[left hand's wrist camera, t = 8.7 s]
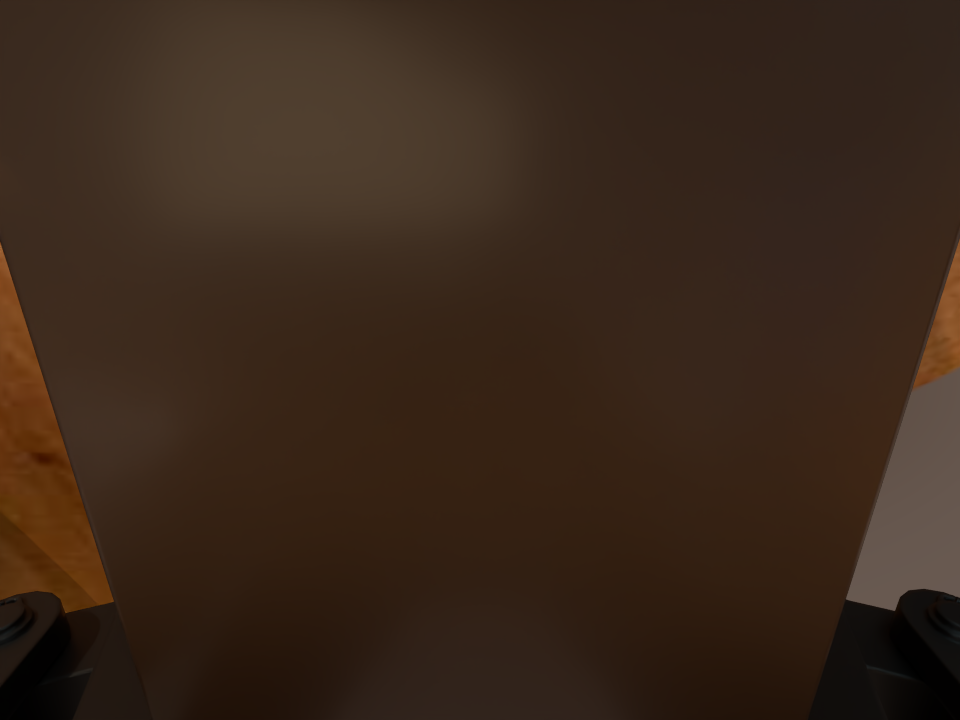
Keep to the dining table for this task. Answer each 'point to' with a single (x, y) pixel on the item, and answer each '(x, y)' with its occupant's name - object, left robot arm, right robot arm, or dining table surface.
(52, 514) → the dining table surface
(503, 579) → the box
